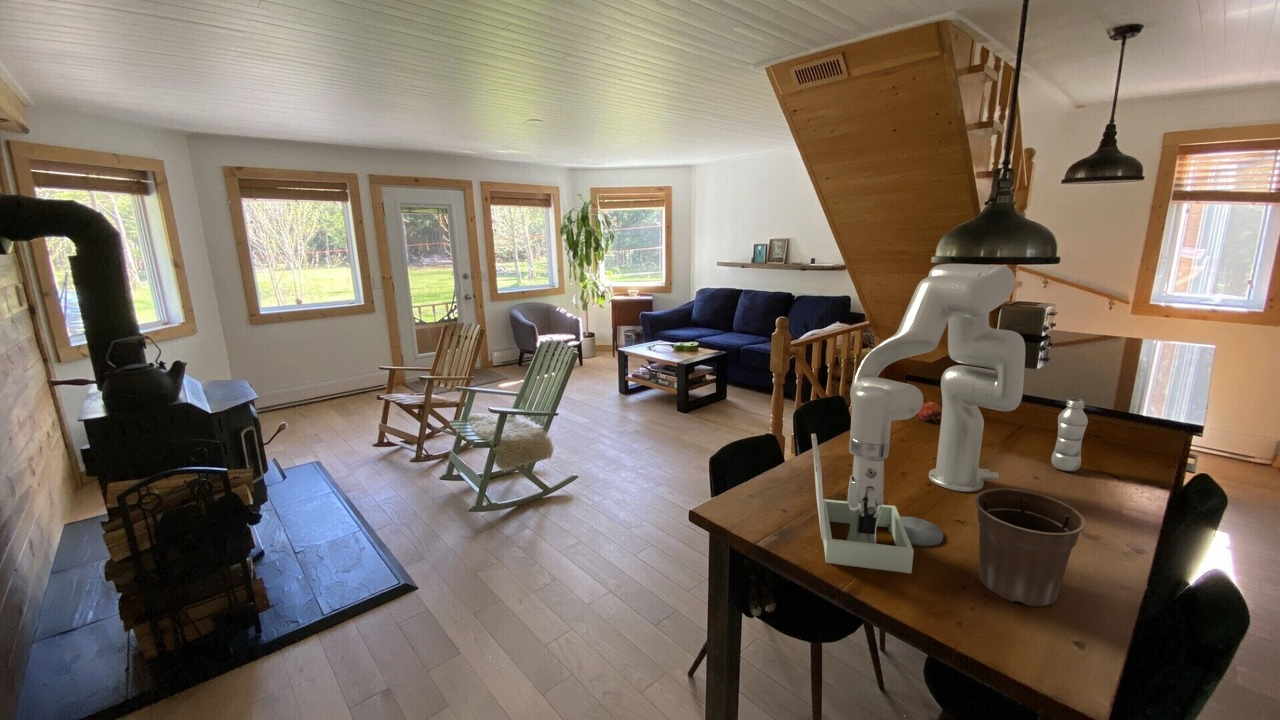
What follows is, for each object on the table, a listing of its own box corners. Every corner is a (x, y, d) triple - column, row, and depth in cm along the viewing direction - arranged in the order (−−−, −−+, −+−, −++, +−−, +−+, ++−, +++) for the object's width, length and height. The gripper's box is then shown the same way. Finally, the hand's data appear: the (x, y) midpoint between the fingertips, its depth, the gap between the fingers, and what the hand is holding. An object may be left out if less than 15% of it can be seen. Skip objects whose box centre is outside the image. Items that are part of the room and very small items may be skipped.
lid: (815, 433, 121) (811, 433, 122) (821, 466, 104) (815, 466, 105) (820, 497, 124) (815, 497, 125) (825, 539, 108) (820, 539, 108)
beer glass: (873, 535, 118) (878, 472, 115) (883, 553, 111) (889, 487, 108) (840, 534, 119) (844, 472, 115) (849, 552, 112) (854, 487, 109)
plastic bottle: (1054, 472, 145) (1065, 402, 141) (1046, 462, 151) (1057, 395, 147) (1083, 475, 143) (1096, 405, 138) (1074, 465, 149) (1086, 397, 144)
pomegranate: (943, 428, 185) (931, 405, 192) (951, 417, 180) (938, 393, 186) (922, 431, 186) (910, 407, 192) (929, 420, 180) (917, 396, 186)
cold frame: (893, 525, 122) (895, 505, 120) (911, 573, 105) (913, 550, 103) (820, 518, 126) (821, 499, 124) (825, 562, 109) (827, 541, 108)
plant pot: (1034, 627, 90) (1048, 542, 86) (946, 574, 104) (955, 499, 100) (1091, 599, 96) (1106, 519, 92) (1000, 552, 110) (1011, 481, 107)
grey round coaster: (935, 522, 122) (935, 519, 122) (949, 549, 112) (949, 545, 112) (883, 517, 125) (884, 514, 125) (892, 543, 115) (893, 539, 115)
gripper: (897, 464, 101) (889, 545, 105) (881, 432, 117) (875, 503, 121) (854, 461, 103) (848, 540, 107) (845, 430, 119) (840, 500, 123)
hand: (862, 520), depth 114 cm, fingers open, 9 cm apart
